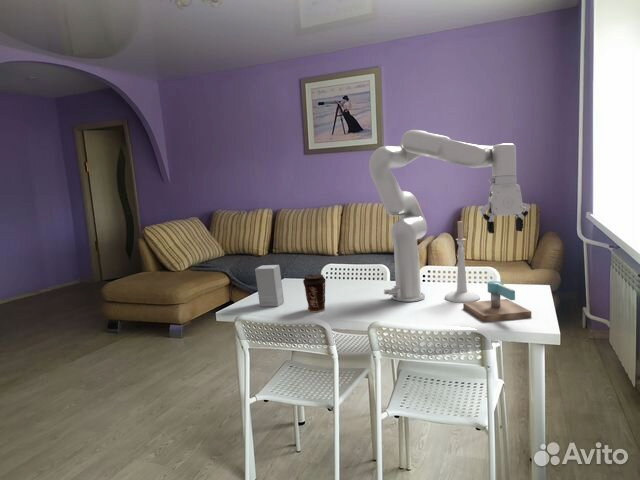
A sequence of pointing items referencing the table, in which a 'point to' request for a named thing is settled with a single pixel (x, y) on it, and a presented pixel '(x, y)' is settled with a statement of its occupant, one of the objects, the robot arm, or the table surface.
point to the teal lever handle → (501, 290)
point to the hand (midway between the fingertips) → (505, 232)
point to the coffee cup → (315, 292)
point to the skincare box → (269, 285)
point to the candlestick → (461, 275)
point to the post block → (496, 309)
